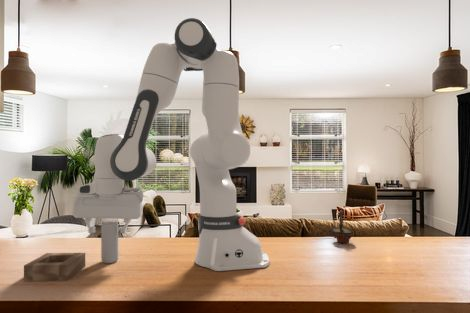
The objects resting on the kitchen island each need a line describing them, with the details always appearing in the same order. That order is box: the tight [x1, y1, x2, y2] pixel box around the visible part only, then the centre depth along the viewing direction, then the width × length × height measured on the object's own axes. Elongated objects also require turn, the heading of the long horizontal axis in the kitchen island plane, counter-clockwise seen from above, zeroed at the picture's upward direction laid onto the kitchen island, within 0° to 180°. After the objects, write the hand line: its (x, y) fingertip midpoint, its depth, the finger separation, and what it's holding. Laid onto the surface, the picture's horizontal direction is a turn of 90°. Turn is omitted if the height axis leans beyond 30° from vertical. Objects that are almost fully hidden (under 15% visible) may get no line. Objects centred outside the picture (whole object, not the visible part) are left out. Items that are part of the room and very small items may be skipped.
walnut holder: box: [23, 252, 86, 282], centre depth 91 cm, size 11×11×4 cm
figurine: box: [329, 209, 354, 244], centre depth 123 cm, size 10×8×12 cm
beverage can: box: [100, 220, 119, 264], centre depth 101 cm, size 5×5×12 cm
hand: (107, 232), depth 101 cm, fingers open, 8 cm apart
